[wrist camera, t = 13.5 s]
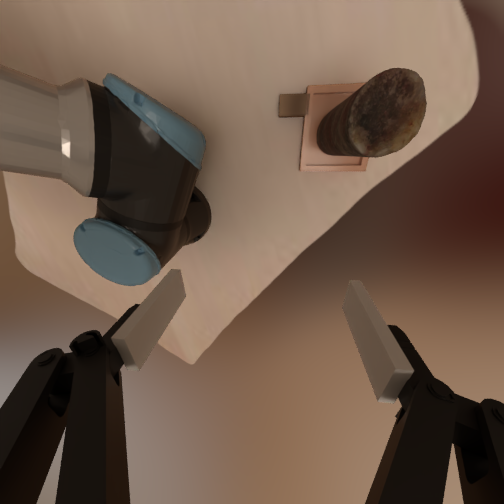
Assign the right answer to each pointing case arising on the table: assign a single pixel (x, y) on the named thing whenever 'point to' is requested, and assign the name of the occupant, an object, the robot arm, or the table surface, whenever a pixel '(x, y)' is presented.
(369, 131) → the dark brown tall piece
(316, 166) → the dish
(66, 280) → the table surface
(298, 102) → the matchbox
